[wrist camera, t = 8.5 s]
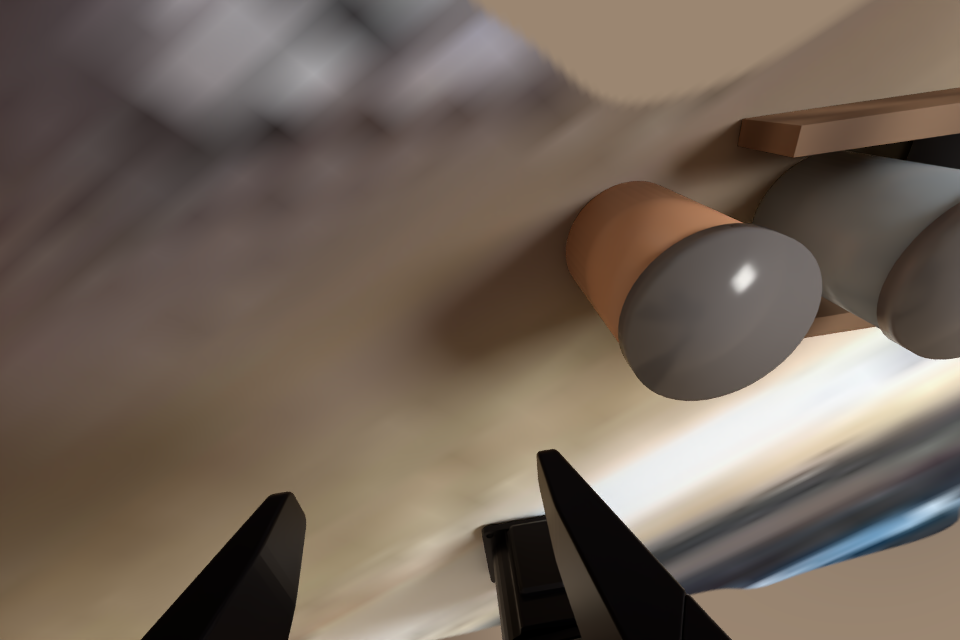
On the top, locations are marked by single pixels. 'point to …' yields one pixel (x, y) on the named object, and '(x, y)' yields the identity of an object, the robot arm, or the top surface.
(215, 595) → the robot arm
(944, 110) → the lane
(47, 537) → the top surface
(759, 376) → the terracotta jar
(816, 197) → the slate jar
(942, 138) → the pusher
